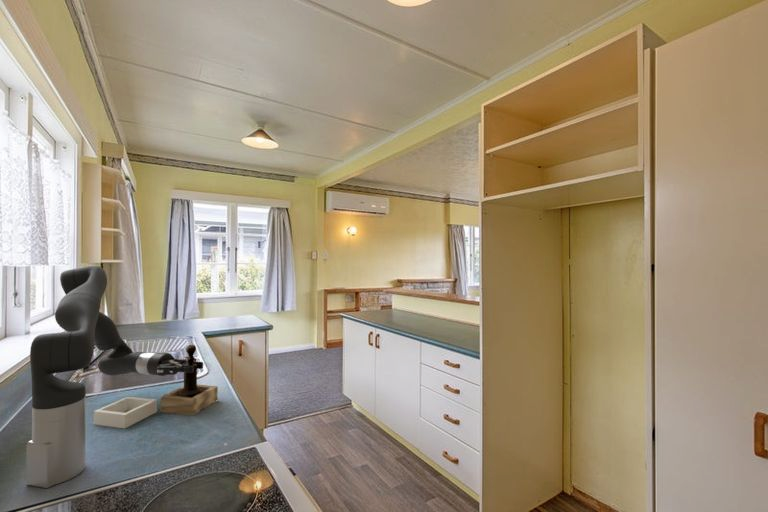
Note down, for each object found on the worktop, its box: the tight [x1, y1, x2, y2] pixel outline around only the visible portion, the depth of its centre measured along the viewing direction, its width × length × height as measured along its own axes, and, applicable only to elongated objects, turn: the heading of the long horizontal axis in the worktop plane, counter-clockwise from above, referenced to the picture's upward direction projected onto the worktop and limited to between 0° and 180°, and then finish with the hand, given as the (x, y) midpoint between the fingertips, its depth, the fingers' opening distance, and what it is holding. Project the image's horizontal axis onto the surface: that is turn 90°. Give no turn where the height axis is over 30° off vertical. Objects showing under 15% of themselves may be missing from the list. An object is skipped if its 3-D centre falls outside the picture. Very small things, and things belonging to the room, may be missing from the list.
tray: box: [93, 396, 158, 429], centre depth 111 cm, size 11×11×4 cm
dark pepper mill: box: [179, 344, 201, 398], centre depth 120 cm, size 7×6×18 cm
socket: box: [160, 384, 219, 416], centre depth 120 cm, size 12×12×5 cm
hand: (197, 367), depth 120 cm, fingers closed on dark pepper mill, 3 cm apart
